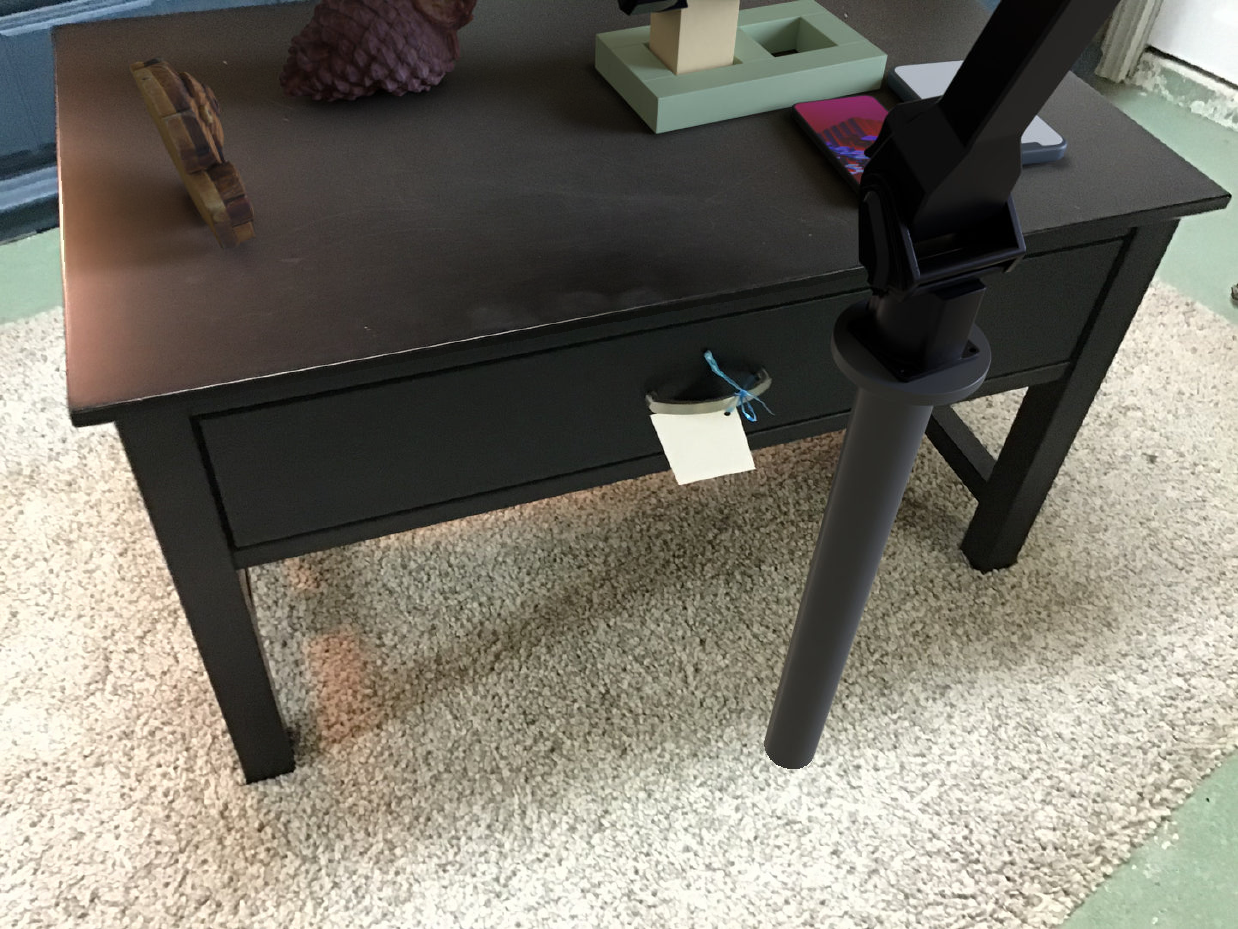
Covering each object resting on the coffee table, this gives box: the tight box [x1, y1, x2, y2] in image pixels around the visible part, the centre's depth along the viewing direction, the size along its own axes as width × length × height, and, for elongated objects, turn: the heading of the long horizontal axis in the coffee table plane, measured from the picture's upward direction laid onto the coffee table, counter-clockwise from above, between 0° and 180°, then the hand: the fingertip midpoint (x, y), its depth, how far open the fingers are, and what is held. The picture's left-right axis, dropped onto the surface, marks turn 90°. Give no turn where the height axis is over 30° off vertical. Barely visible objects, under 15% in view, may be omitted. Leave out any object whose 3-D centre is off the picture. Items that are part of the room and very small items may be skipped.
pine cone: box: [278, 0, 478, 103], centre depth 84 cm, size 18×10×10 cm
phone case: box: [886, 58, 1068, 166], centre depth 85 cm, size 9×2×16 cm
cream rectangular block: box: [649, 0, 741, 76], centre depth 84 cm, size 5×5×13 cm
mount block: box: [594, 0, 888, 135], centre depth 89 cm, size 12×21×3 cm, turn 114°
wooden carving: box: [129, 56, 256, 251], centre depth 70 cm, size 16×5×10 cm, turn 36°
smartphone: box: [790, 94, 890, 195], centre depth 81 cm, size 8×1×15 cm
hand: (687, 0), depth 84 cm, fingers open, 6 cm apart
